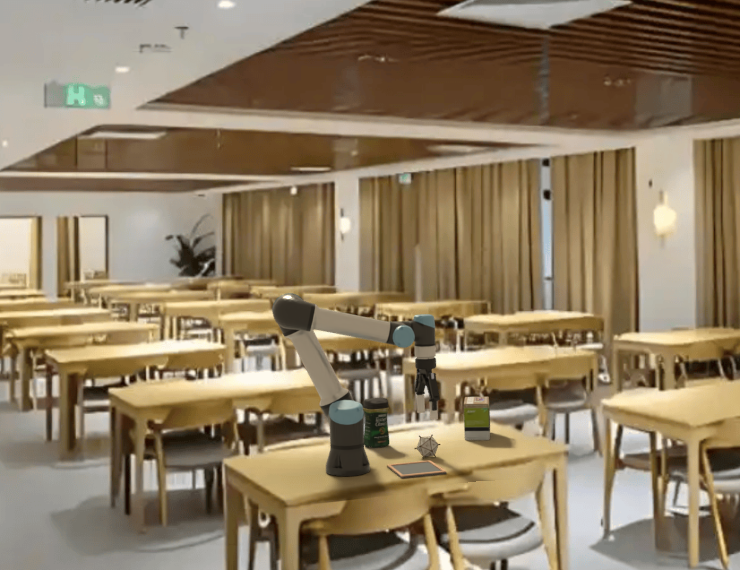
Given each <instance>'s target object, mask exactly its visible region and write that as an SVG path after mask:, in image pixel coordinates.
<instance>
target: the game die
mask: <svg viewBox="0 0 740 570" xmlns="http://www.w3.org/2000/svg"><path fill="white" fill-rule="evenodd" d="M433 436H434V434H430V436H429V435H428V436H421V435H418V437H419V440H418V443H417V445H416V447H414V450H416V451H418V452H419V453H420V455H421V456H422V458H423V459H424V458H425V457H427V458H428V457H434V458H437V455H436V453H437V450H438V448H439V446H441V443H438V442H437V441H436V439H435V438H434V437H433ZM422 458H421V459H422Z"/></svg>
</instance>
